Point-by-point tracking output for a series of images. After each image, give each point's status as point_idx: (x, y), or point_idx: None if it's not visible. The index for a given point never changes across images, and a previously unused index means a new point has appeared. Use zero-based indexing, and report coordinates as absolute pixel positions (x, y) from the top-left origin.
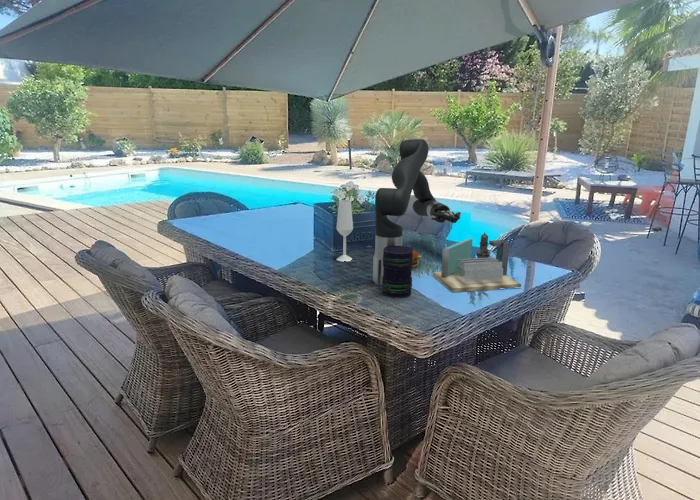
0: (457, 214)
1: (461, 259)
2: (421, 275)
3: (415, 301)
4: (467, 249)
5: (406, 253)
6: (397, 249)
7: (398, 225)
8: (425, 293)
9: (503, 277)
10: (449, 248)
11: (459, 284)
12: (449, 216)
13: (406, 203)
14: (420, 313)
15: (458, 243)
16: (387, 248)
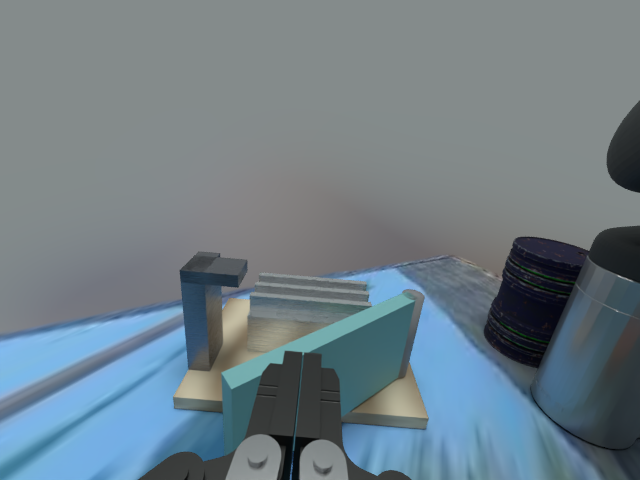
0: (152, 476)
1: (360, 302)
2: (471, 450)
3: (469, 308)
4: None
5: (524, 237)
6: (560, 252)
7: (629, 235)
8: (451, 329)
9: (229, 331)
10: (400, 294)
11: None
12: (318, 444)
13: (615, 134)
14: (457, 281)
15: (343, 328)
16: None
